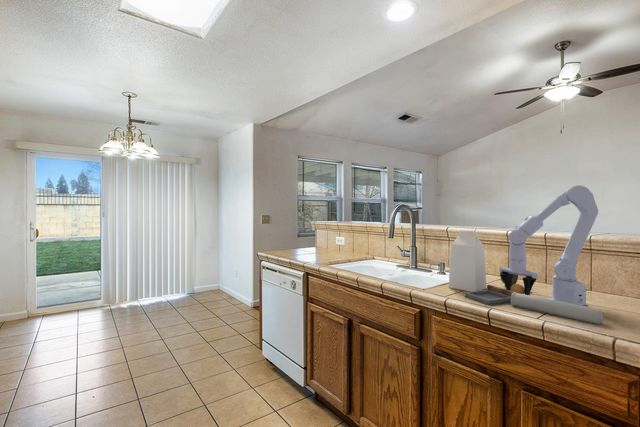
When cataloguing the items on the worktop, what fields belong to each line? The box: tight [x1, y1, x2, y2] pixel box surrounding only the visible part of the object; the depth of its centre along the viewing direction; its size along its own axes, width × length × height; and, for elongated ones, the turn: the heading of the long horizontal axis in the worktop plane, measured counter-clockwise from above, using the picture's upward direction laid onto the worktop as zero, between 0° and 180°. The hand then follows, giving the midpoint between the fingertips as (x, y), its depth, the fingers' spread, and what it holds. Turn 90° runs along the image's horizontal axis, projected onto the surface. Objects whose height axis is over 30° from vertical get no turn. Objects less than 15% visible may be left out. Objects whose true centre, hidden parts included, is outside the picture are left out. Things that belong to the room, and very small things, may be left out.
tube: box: [510, 292, 605, 325], centre depth 105 cm, size 5×5×25 cm
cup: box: [499, 271, 519, 287], centre depth 141 cm, size 8×7×8 cm
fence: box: [486, 284, 521, 297], centre depth 125 cm, size 18×1×3 cm, turn 17°
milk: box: [448, 229, 487, 292], centre depth 141 cm, size 12×12×26 cm
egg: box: [511, 283, 525, 295], centre depth 127 cm, size 5×5×5 cm
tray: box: [464, 289, 511, 306], centre depth 122 cm, size 12×12×2 cm
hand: (517, 292), depth 127 cm, fingers open, 7 cm apart
